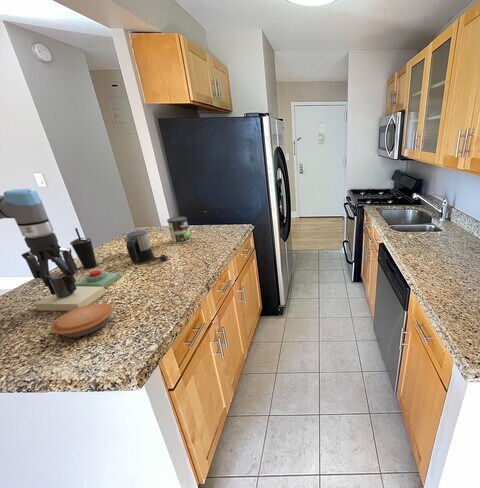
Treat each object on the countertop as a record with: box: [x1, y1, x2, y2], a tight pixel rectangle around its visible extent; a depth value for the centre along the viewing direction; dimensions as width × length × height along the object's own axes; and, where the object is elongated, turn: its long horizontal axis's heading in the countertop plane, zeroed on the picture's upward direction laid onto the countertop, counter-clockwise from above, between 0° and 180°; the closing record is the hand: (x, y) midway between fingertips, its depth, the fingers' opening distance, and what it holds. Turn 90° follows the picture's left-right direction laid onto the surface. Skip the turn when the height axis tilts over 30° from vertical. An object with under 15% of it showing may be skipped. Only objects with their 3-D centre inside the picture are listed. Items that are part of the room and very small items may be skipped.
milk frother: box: [125, 229, 169, 264], centre depth 132 cm, size 14×16×15 cm
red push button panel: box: [75, 270, 122, 289], centre depth 113 cm, size 12×10×4 cm
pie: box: [50, 303, 114, 338], centre depth 86 cm, size 15×16×5 cm
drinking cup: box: [69, 227, 98, 270], centre depth 124 cm, size 8×8×20 cm
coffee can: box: [166, 216, 192, 245], centre depth 158 cm, size 10×10×14 cm
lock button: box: [88, 269, 101, 277], centre depth 112 cm, size 4×4×2 cm
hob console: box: [33, 286, 107, 312], centre depth 100 cm, size 16×12×3 cm
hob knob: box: [48, 272, 74, 298], centre depth 98 cm, size 5×5×8 cm
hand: (64, 291), depth 99 cm, fingers closed on hob knob, 5 cm apart
